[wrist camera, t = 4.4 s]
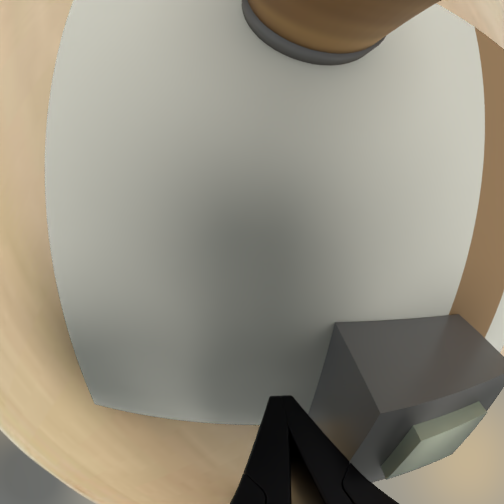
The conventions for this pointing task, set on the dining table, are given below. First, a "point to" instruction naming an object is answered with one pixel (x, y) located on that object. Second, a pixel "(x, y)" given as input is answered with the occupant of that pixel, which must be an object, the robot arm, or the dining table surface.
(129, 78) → the floor panel
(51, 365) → the dining table surface
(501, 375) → the grey cube-like block
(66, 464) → the dining table surface
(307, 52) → the tan cylinder
